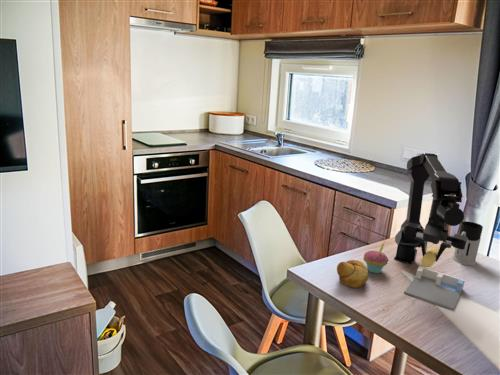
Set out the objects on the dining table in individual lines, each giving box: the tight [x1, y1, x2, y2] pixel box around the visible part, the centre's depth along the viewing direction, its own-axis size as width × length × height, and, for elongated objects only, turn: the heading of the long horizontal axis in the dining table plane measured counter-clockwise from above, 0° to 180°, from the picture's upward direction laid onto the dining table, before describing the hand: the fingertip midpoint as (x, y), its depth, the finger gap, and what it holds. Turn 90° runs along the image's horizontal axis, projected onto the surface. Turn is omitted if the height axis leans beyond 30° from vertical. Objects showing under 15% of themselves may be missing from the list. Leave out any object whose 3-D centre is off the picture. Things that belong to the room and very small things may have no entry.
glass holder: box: [451, 220, 484, 266], centre depth 164 cm, size 9×14×15 cm, turn 133°
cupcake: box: [362, 240, 389, 274], centre depth 151 cm, size 9×8×12 cm
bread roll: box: [336, 259, 369, 289], centre depth 143 cm, size 13×10×8 cm
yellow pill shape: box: [420, 246, 439, 269], centre depth 139 cm, size 14×4×4 cm, turn 145°
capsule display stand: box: [403, 265, 466, 311], centre depth 141 cm, size 15×17×4 cm
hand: (430, 259), depth 140 cm, fingers closed on yellow pill shape, 4 cm apart
